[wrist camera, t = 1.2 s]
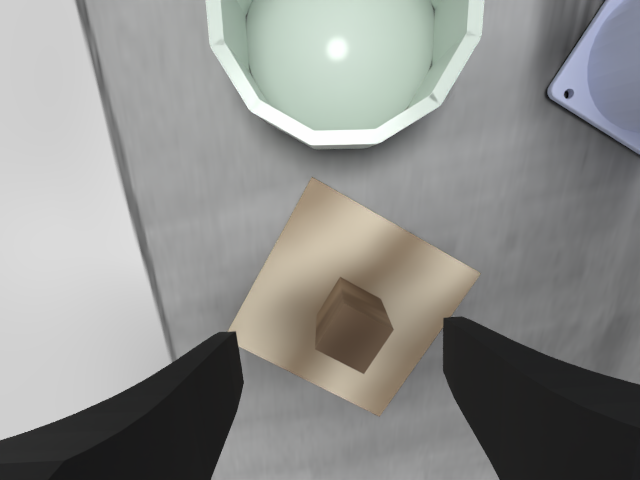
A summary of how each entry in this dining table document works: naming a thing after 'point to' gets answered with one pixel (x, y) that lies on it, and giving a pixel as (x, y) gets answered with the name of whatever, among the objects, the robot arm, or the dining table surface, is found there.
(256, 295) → the birch lid
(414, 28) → the celadon bowl
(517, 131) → the dining table surface
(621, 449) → the robot arm
